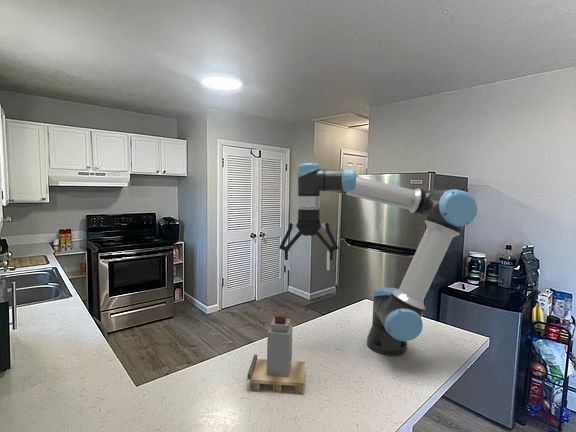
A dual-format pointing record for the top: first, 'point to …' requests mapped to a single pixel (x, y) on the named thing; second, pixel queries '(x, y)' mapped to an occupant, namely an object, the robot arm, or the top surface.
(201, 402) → the top surface
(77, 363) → the top surface
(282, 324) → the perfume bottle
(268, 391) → the top surface
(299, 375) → the platform
